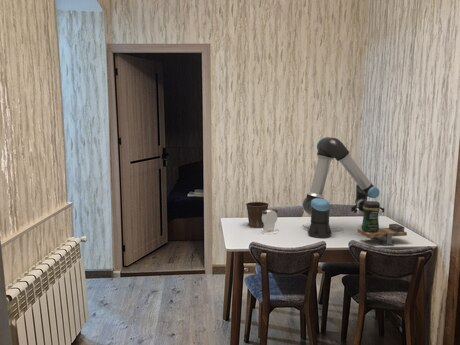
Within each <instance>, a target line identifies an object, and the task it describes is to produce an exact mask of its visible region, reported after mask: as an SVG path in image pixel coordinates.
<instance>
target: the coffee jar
mask: <svg viewBox="0 0 460 345" xmlns="http://www.w3.org/2000/svg"><path fill="white" fill-rule="evenodd" d="M380 207H381V204H380V202H379V201H377V200H376V201H374V200H372V201H371V200H370V201H369V200H367V201H364V204H363V209H364V212H363V219H362V222H361V223H362V224H361V229H362V230H363V231H366V232H378V231H379V228H380V227H379V226H380V224H379V210H380Z"/></svg>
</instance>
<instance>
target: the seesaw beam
mask: <svg viewBox="0 0 460 345" xmlns="http://www.w3.org/2000/svg"><path fill="white" fill-rule="evenodd" d="M387 233H392V237H407V236H408V235H407V234H408V232H406V231H405V226H403V225H401V224H399V223H389V224H388V227H382V228H381V227H379V231H378V232H366V231H363V230H362V228H358V229H357V234H359V235H361V236H363V237H365V238H367V239H370V238H375V237H386V234H387Z"/></svg>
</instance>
